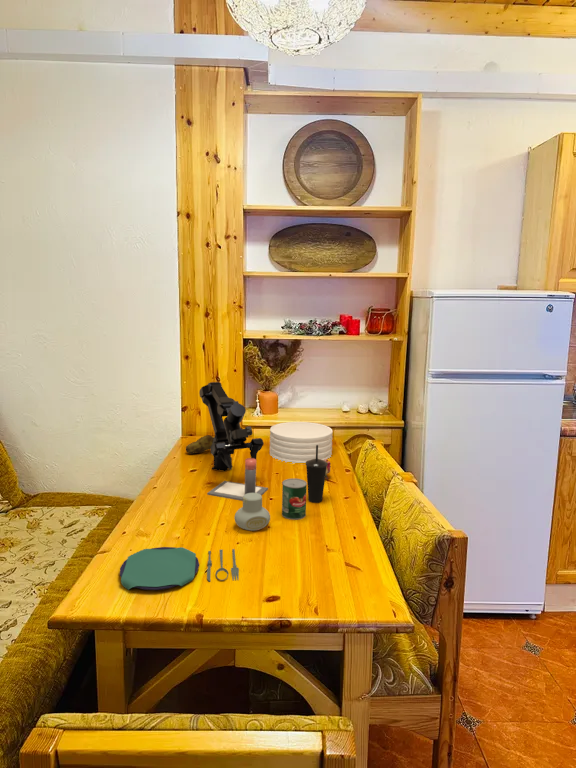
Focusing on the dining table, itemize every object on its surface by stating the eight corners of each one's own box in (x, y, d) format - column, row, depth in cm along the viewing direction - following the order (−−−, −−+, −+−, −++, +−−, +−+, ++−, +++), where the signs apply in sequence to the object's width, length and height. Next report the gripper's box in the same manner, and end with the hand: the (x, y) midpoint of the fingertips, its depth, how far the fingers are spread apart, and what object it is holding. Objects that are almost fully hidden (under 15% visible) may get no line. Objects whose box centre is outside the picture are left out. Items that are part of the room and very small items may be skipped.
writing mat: (207, 494, 180) (207, 492, 179) (224, 482, 192) (224, 479, 191) (253, 502, 173) (253, 500, 173) (268, 489, 185) (268, 487, 185)
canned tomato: (289, 507, 170) (290, 476, 168) (310, 513, 166) (311, 481, 164) (277, 516, 163) (277, 483, 162) (298, 522, 159) (299, 489, 158)
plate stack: (260, 459, 219) (261, 434, 217) (280, 442, 245) (281, 419, 243) (323, 467, 211) (324, 441, 209) (337, 448, 237) (338, 424, 235)
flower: (336, 471, 201) (326, 454, 202) (337, 474, 192) (325, 457, 192) (316, 484, 202) (305, 467, 202) (315, 488, 192) (304, 470, 193)
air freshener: (264, 518, 162) (265, 489, 160) (273, 529, 154) (273, 498, 152) (231, 523, 158) (231, 493, 156) (238, 535, 150) (238, 503, 148)
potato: (188, 450, 230) (188, 433, 228) (216, 450, 230) (216, 433, 229) (184, 455, 222) (184, 438, 220) (214, 456, 222) (214, 438, 220)
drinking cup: (324, 505, 172) (326, 449, 169) (302, 503, 174) (304, 447, 170) (327, 497, 180) (329, 443, 176) (306, 494, 181) (307, 441, 178)
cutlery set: (126, 554, 138) (126, 546, 138) (236, 550, 143) (236, 542, 142) (112, 598, 119) (112, 589, 118) (240, 591, 123) (240, 583, 123)
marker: (242, 495, 177) (243, 459, 175) (249, 492, 180) (250, 457, 178) (249, 498, 175) (250, 462, 173) (257, 495, 178) (258, 460, 175)
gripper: (213, 421, 180) (223, 460, 173) (262, 417, 188) (273, 454, 180) (207, 436, 189) (216, 474, 181) (254, 432, 197) (264, 468, 189)
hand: (243, 467), depth 183 cm, fingers open, 9 cm apart
